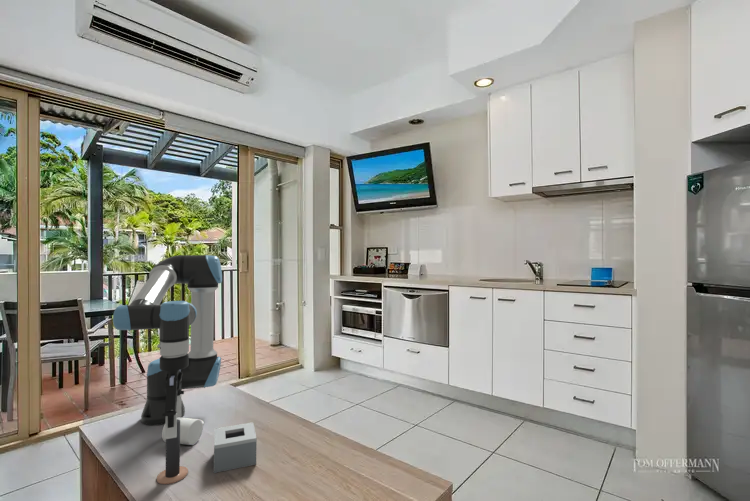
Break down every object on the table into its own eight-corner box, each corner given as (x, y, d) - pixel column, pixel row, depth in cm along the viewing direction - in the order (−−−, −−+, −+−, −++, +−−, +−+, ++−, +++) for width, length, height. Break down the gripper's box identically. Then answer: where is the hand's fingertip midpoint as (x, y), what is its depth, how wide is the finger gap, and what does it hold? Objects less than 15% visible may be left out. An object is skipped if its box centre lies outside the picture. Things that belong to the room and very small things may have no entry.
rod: (166, 472, 109) (167, 420, 109) (180, 469, 110) (180, 418, 110) (164, 478, 105) (165, 425, 106) (178, 476, 107) (179, 423, 107)
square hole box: (214, 453, 120) (214, 428, 120) (252, 446, 125) (253, 422, 125) (213, 473, 109) (214, 445, 109) (256, 464, 114) (256, 438, 114)
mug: (187, 449, 123) (187, 425, 123) (161, 446, 125) (161, 422, 125) (210, 433, 134) (210, 410, 135) (186, 430, 136) (186, 408, 137)
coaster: (158, 471, 110) (159, 469, 110) (189, 465, 113) (189, 463, 113) (154, 487, 102) (154, 484, 102) (186, 480, 106) (187, 478, 106)
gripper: (165, 345, 119) (164, 411, 118) (152, 368, 96) (151, 450, 95) (191, 343, 121) (190, 408, 121) (185, 365, 98) (184, 445, 98)
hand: (173, 427), depth 108 cm, fingers open, 13 cm apart
